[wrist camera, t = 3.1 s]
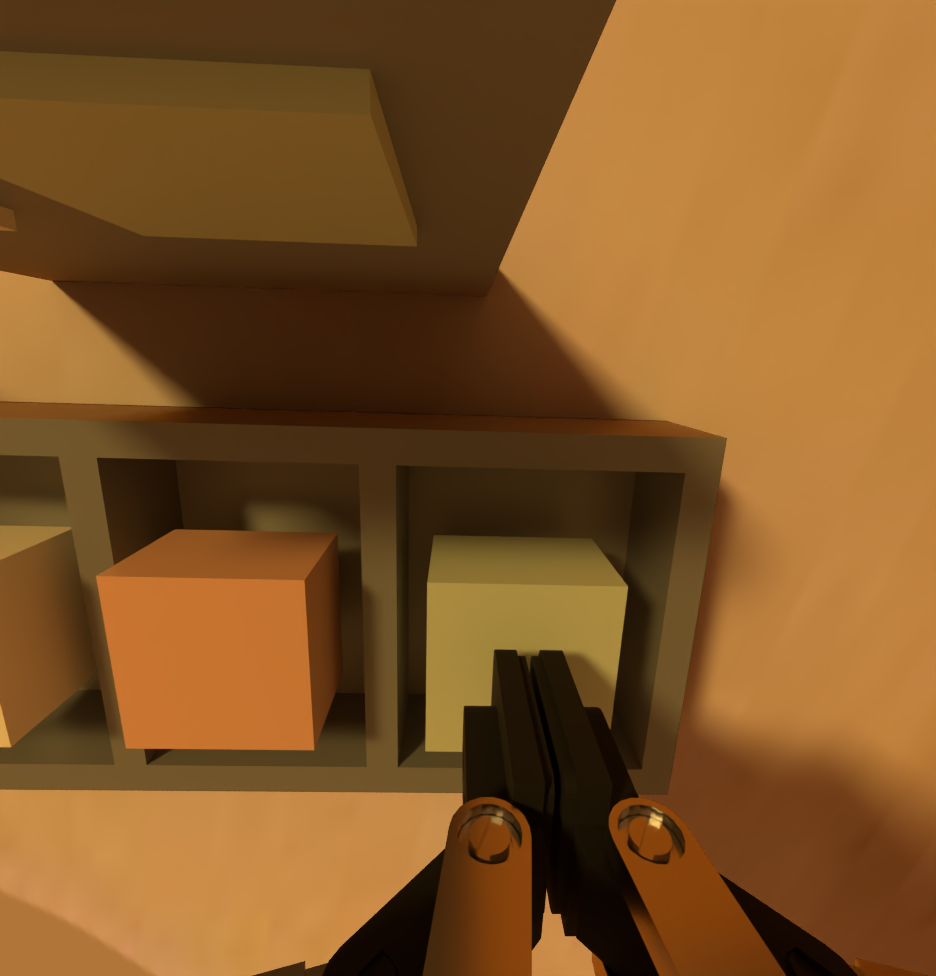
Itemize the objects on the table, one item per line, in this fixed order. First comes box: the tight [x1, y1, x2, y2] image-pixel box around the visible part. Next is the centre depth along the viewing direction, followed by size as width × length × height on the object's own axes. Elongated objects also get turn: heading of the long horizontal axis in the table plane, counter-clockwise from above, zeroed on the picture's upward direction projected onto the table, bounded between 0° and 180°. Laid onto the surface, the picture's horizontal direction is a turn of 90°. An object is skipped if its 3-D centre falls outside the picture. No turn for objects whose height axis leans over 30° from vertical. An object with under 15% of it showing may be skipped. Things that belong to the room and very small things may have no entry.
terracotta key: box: [96, 529, 343, 750], centre depth 14 cm, size 5×5×3 cm
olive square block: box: [425, 535, 628, 752], centre depth 14 cm, size 5×5×3 cm
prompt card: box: [0, 0, 616, 296], centre depth 9 cm, size 2×14×14 cm, turn 88°
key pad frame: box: [0, 401, 727, 795], centre depth 16 cm, size 12×27×4 cm, turn 88°
